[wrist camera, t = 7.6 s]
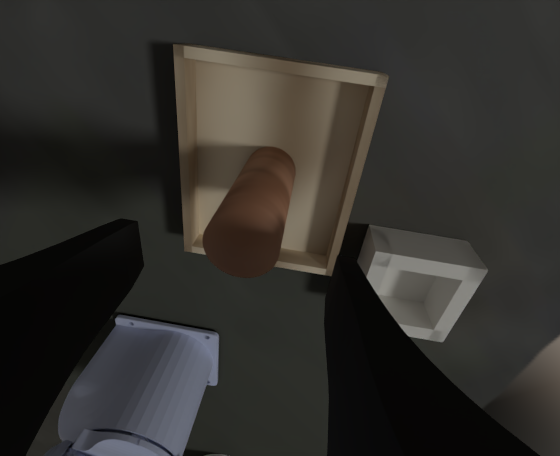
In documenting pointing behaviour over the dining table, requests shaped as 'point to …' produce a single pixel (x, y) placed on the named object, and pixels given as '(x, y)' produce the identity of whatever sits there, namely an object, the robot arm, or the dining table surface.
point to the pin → (252, 216)
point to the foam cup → (215, 455)
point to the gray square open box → (421, 278)
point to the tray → (274, 140)
